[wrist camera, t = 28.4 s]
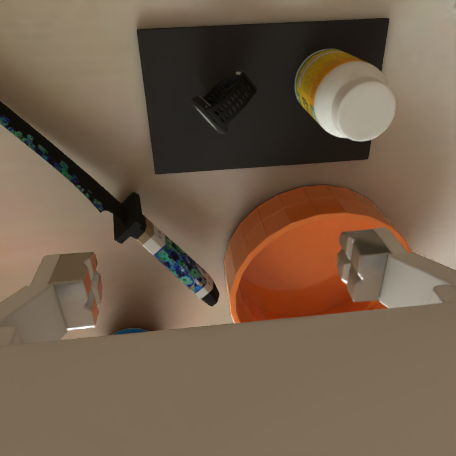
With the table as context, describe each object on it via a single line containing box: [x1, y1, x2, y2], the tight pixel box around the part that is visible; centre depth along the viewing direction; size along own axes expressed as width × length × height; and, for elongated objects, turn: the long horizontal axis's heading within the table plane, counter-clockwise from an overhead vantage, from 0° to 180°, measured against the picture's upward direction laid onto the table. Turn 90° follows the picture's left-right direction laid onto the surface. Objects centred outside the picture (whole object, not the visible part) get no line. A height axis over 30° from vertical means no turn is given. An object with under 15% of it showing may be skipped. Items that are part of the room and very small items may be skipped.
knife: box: [0, 101, 219, 306], centre depth 37 cm, size 31×3×4 cm, turn 39°
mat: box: [137, 18, 389, 174], centre depth 36 cm, size 20×12×1 cm, turn 92°
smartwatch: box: [192, 72, 257, 134], centre depth 33 cm, size 4×5×5 cm
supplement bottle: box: [295, 49, 396, 141], centre depth 32 cm, size 5×5×10 cm
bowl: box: [224, 185, 411, 323], centre depth 44 cm, size 18×18×6 cm
